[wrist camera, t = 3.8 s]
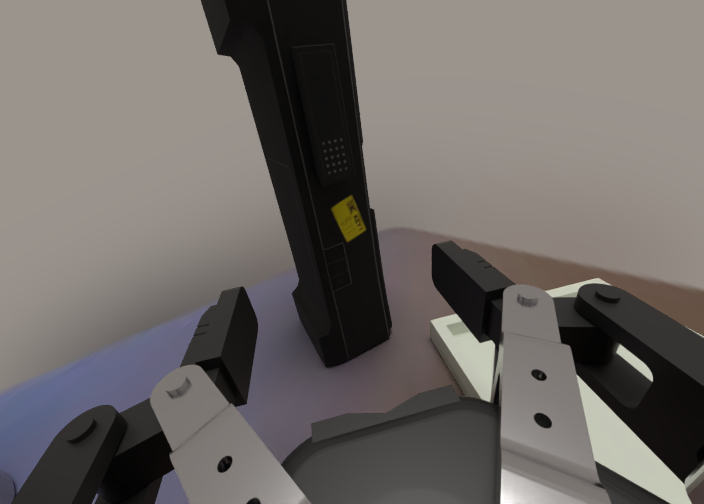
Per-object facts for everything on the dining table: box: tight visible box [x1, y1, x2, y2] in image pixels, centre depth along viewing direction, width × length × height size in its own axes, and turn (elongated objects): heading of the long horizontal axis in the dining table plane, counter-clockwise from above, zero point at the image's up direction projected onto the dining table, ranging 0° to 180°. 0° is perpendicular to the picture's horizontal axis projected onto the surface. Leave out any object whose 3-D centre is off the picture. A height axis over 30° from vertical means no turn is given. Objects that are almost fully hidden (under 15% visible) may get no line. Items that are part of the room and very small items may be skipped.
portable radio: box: [201, 0, 392, 366], centre depth 17 cm, size 8×6×25 cm
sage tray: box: [430, 278, 703, 504], centre depth 15 cm, size 14×14×2 cm
